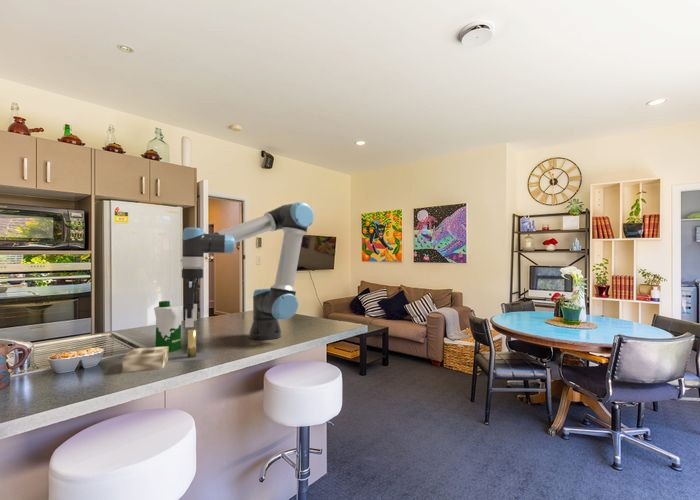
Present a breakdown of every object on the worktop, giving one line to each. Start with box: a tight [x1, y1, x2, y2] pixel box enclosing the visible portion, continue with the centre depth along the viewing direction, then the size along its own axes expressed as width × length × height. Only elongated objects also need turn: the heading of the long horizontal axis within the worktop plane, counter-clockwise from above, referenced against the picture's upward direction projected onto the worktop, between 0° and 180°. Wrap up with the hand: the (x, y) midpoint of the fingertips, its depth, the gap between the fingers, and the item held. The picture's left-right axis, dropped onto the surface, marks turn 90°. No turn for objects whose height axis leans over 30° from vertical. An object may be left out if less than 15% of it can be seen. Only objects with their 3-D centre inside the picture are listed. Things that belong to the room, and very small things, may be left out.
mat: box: [169, 351, 213, 363], centre depth 135 cm, size 14×10×1 cm
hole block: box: [121, 346, 170, 373], centre depth 125 cm, size 12×12×5 cm
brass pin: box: [187, 329, 197, 358], centre depth 135 cm, size 3×3×10 cm
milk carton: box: [153, 300, 184, 353], centre depth 145 cm, size 9×9×20 cm
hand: (191, 323), depth 135 cm, fingers open, 13 cm apart
